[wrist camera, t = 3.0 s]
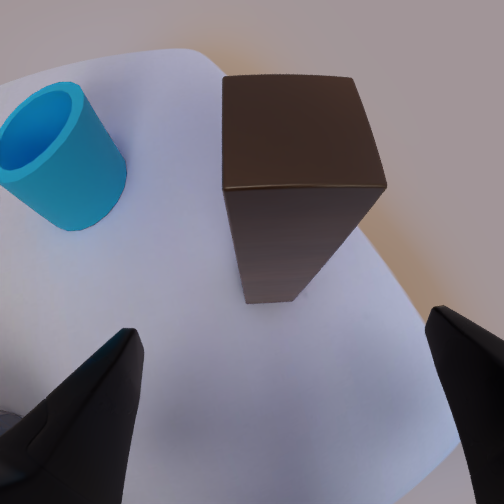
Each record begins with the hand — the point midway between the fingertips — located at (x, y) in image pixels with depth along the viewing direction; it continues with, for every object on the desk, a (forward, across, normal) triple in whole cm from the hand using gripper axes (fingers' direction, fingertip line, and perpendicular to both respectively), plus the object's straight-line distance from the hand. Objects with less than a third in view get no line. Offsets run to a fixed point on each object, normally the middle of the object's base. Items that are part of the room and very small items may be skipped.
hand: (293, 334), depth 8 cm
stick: (+10, 0, +5) cm, 11 cm away
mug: (+18, +15, -2) cm, 23 cm away
